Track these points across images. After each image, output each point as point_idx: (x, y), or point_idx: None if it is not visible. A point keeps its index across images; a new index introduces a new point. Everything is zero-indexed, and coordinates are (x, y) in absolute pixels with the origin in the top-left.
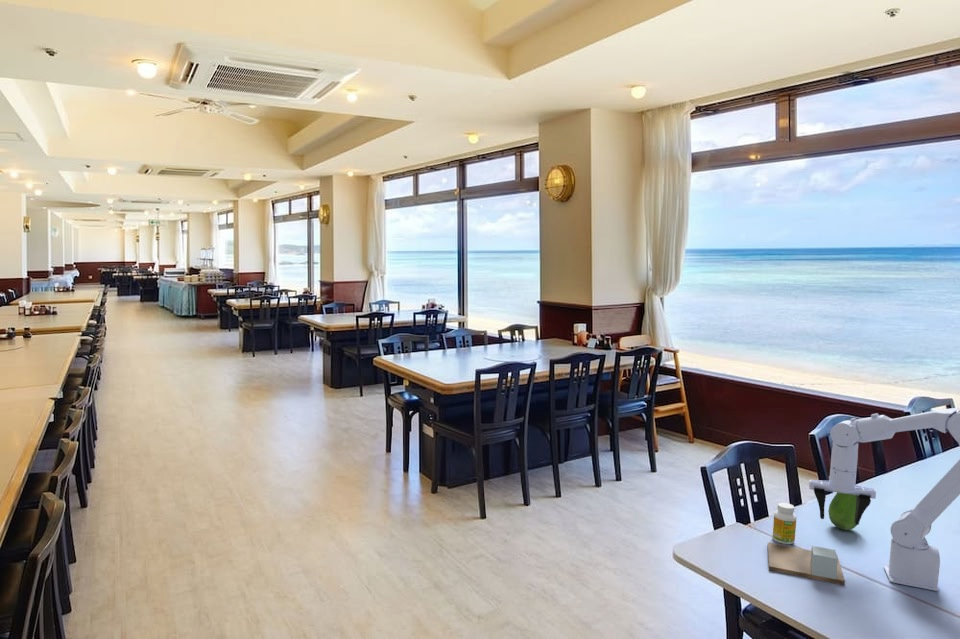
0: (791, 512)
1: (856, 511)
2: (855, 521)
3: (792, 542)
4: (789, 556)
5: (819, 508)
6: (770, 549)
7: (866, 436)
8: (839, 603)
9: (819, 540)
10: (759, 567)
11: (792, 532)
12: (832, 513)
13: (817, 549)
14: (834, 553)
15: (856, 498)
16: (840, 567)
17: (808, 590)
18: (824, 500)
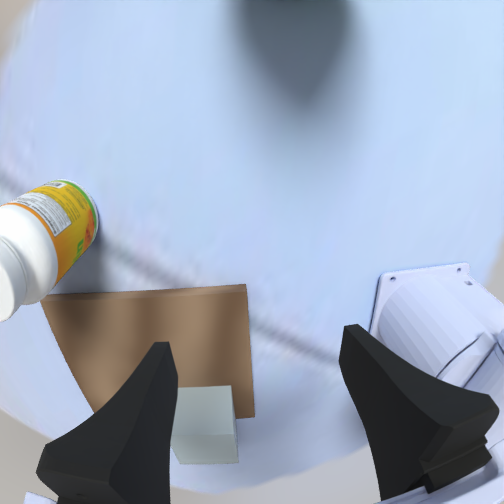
0: (23, 299)
1: (370, 387)
2: (343, 363)
3: (93, 240)
4: (113, 363)
5: (136, 367)
6: (62, 342)
7: None
8: (239, 455)
9: (186, 132)
10: (80, 404)
11: (75, 261)
12: None
13: (184, 445)
14: (230, 448)
15: (417, 415)
16: (250, 366)
17: None
18: (166, 494)
